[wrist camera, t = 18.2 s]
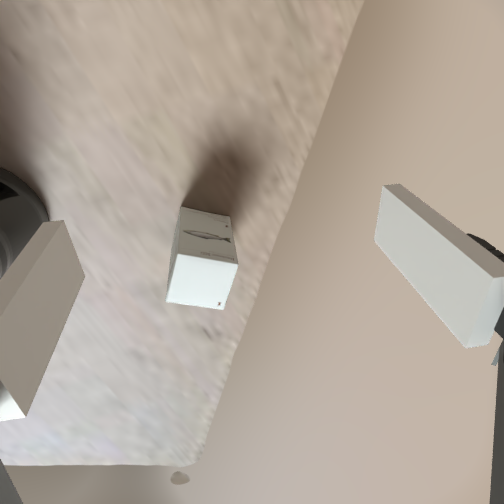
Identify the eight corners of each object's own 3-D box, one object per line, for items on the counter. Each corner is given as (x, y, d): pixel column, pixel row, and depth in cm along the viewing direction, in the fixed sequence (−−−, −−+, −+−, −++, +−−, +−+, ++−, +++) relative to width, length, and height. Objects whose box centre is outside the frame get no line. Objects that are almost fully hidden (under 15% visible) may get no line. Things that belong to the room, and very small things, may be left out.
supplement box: (231, 215, 51) (241, 264, 41) (217, 257, 55) (224, 312, 44) (180, 203, 49) (177, 252, 38) (169, 248, 53) (164, 304, 42)
